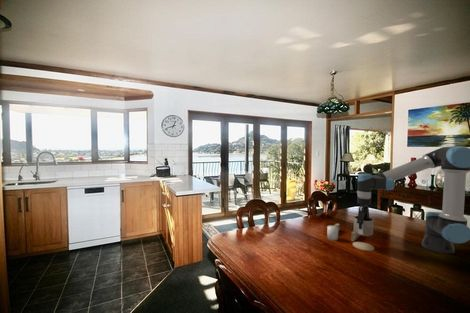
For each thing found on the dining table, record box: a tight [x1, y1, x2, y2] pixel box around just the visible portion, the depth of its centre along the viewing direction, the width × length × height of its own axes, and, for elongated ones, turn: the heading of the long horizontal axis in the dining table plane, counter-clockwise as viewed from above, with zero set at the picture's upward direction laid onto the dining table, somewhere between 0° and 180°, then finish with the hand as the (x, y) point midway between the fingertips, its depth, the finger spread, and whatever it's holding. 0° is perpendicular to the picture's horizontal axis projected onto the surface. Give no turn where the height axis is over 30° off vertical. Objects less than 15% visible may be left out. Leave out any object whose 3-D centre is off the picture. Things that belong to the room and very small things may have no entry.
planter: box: [353, 215, 374, 237], centre depth 137 cm, size 11×11×10 cm
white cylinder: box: [326, 225, 339, 241], centre depth 150 cm, size 7×7×8 cm
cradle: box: [332, 222, 361, 242], centre depth 156 cm, size 16×14×5 cm
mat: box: [352, 241, 375, 252], centre depth 137 cm, size 12×12×1 cm
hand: (363, 231), depth 137 cm, fingers closed on planter, 11 cm apart
